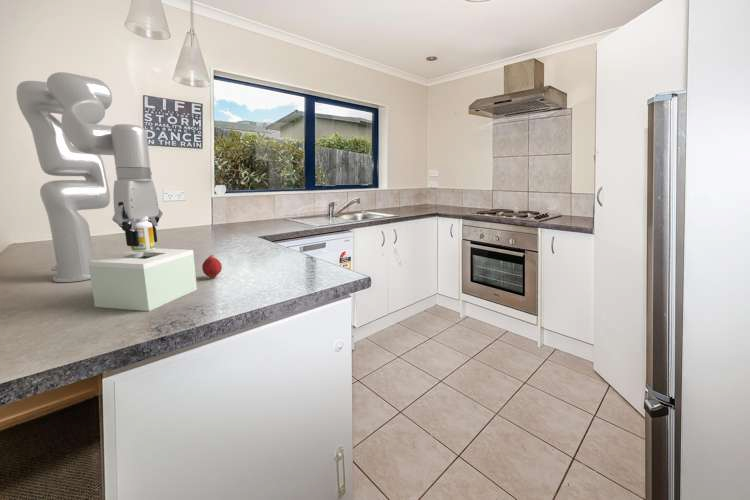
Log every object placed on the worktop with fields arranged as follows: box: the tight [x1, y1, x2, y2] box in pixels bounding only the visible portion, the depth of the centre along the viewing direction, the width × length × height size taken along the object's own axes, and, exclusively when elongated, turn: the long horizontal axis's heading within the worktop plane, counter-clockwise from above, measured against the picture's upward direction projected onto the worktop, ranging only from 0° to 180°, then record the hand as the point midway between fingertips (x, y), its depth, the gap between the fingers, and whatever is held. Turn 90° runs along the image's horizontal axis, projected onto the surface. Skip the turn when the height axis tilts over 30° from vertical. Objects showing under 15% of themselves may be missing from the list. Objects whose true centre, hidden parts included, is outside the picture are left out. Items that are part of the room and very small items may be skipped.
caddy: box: [88, 247, 198, 312], centre depth 99 cm, size 16×18×12 cm
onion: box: [201, 254, 223, 279], centre depth 118 cm, size 6×6×8 cm
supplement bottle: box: [130, 216, 156, 252], centre depth 96 cm, size 5×5×10 cm
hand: (142, 243), depth 97 cm, fingers closed on supplement bottle, 5 cm apart
